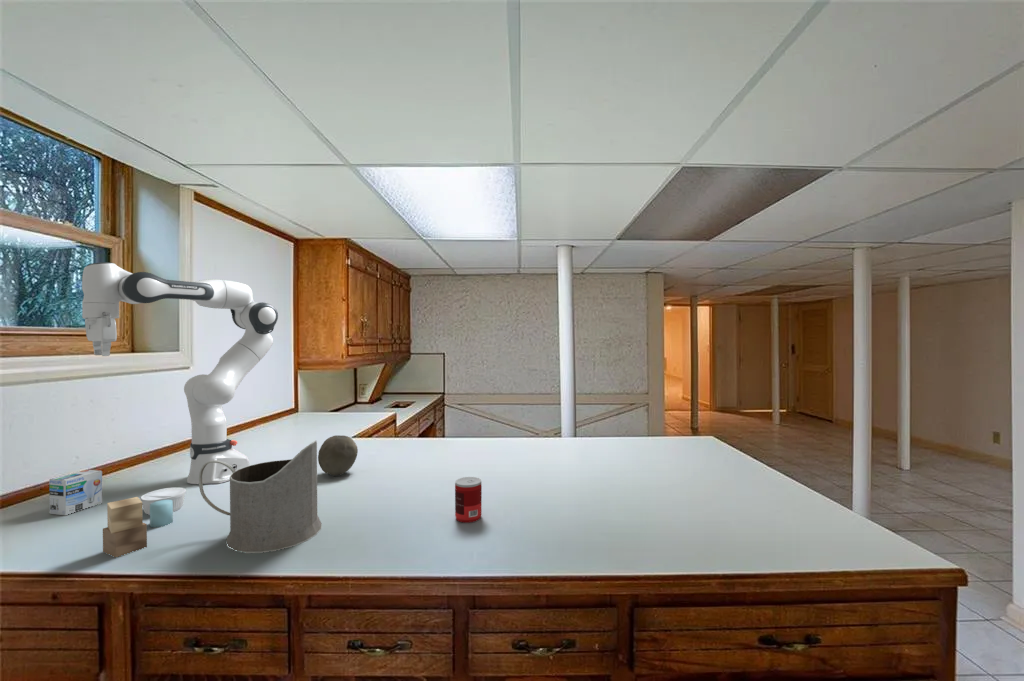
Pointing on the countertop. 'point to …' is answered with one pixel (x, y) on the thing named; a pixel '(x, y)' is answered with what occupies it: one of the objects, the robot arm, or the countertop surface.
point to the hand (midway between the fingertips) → (101, 355)
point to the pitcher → (272, 503)
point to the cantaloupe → (337, 455)
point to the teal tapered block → (161, 513)
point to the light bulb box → (75, 491)
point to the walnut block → (124, 540)
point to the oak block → (124, 514)
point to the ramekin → (164, 498)
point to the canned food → (468, 499)
